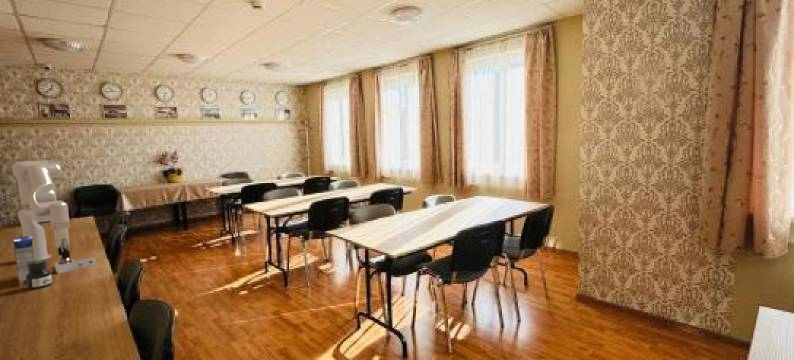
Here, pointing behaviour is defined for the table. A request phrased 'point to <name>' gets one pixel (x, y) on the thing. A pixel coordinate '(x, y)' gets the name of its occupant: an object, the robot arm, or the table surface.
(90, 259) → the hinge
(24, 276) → the beverage box
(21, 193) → the robot arm
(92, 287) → the table surface
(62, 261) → the grey upright cylinder
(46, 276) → the ink bottle
